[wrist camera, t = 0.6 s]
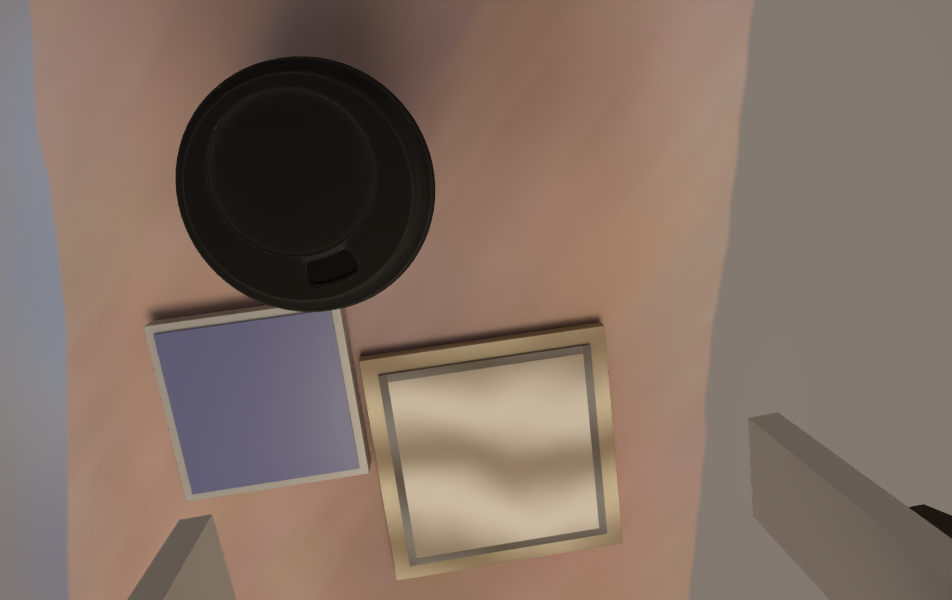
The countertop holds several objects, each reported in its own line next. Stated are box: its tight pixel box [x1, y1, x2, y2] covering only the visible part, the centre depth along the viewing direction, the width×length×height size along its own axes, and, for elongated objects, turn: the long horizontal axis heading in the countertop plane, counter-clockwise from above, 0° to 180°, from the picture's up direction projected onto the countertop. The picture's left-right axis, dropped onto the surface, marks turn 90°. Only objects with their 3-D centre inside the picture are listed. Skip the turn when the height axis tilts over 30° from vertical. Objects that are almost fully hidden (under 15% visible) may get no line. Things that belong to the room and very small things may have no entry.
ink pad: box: [144, 305, 371, 502], centre depth 38 cm, size 11×11×2 cm
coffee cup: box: [176, 57, 435, 312], centre depth 29 cm, size 9×9×15 cm
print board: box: [359, 322, 622, 580], centre depth 40 cm, size 15×15×1 cm
